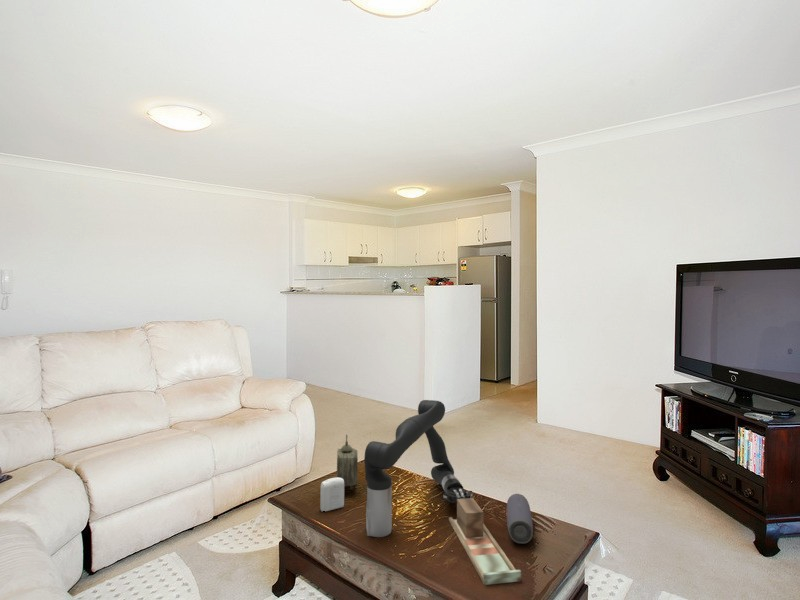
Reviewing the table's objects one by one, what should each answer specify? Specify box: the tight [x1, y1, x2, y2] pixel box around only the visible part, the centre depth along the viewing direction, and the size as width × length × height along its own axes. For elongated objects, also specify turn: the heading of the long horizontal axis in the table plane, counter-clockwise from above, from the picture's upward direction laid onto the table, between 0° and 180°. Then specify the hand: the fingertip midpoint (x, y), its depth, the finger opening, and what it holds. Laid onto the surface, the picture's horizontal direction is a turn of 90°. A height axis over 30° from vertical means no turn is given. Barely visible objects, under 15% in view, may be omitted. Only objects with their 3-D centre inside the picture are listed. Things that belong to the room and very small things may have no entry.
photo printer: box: [319, 476, 345, 512], centre depth 192 cm, size 10×4×12 cm, turn 123°
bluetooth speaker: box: [505, 493, 534, 545], centre depth 173 cm, size 23×9×10 cm, turn 168°
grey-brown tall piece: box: [336, 434, 359, 490], centre depth 210 cm, size 14×9×25 cm, turn 6°
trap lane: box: [448, 516, 522, 586], centre depth 162 cm, size 12×41×3 cm, turn 9°
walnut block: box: [456, 497, 484, 538], centre depth 174 cm, size 6×12×9 cm, turn 9°
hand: (464, 504), depth 181 cm, fingers closed
